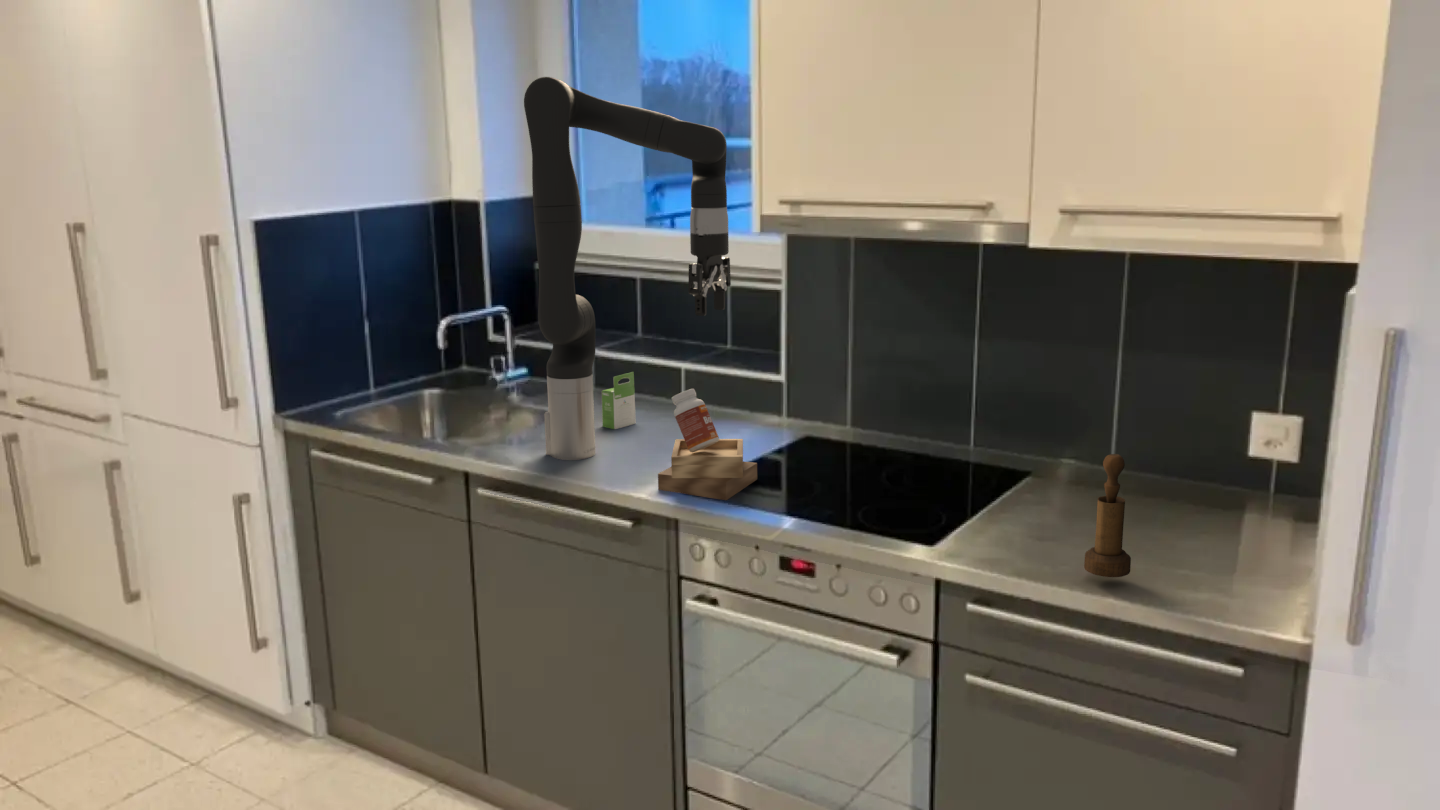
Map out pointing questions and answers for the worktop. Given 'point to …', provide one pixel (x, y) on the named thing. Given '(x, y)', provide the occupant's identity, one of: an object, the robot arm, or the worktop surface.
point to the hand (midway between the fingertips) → (710, 312)
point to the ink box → (619, 403)
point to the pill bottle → (694, 421)
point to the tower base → (708, 483)
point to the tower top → (708, 460)
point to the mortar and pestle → (1109, 527)
